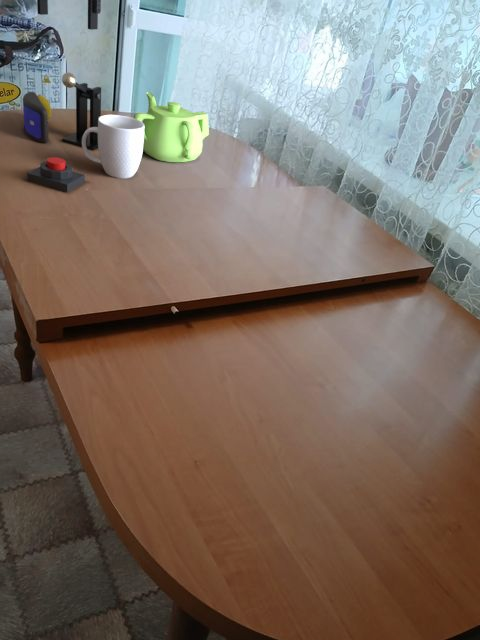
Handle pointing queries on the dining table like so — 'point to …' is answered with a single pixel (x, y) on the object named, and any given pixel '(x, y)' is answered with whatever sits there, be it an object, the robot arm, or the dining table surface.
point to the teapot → (172, 131)
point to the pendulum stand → (82, 118)
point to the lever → (75, 84)
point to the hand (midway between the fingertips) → (67, 21)
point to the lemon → (45, 105)
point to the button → (56, 163)
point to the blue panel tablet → (35, 118)
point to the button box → (56, 177)
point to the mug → (117, 144)
